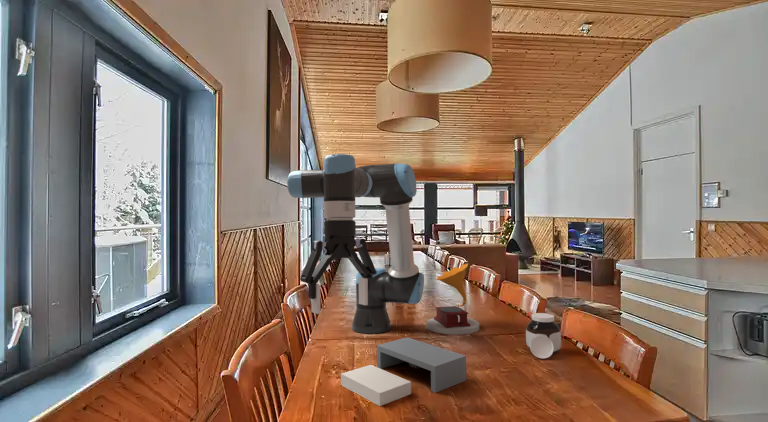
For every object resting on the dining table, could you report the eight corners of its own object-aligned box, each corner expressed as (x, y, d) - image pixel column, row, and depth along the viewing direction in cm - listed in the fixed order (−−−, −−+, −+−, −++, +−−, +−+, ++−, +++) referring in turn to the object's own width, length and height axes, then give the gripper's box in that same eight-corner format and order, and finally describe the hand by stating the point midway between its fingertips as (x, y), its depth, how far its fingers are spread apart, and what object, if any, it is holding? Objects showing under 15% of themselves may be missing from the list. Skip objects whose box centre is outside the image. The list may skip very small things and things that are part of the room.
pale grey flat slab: (340, 385, 109) (340, 373, 109) (371, 375, 116) (371, 364, 116) (379, 406, 97) (379, 393, 97) (411, 394, 103) (410, 381, 103)
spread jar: (551, 347, 139) (550, 311, 139) (571, 358, 128) (571, 320, 128) (517, 349, 137) (516, 313, 137) (535, 361, 126) (535, 322, 126)
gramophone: (466, 319, 177) (465, 260, 177) (488, 332, 157) (487, 265, 157) (420, 322, 173) (419, 262, 173) (436, 336, 153) (435, 267, 153)
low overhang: (377, 367, 122) (376, 345, 122) (407, 358, 129) (407, 337, 129) (435, 392, 104) (435, 366, 104) (466, 380, 112) (466, 355, 112)
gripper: (301, 219, 89) (301, 319, 89) (389, 218, 105) (390, 303, 105) (284, 219, 95) (285, 313, 95) (370, 218, 111) (371, 299, 111)
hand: (340, 308), depth 100 cm, fingers open, 13 cm apart
